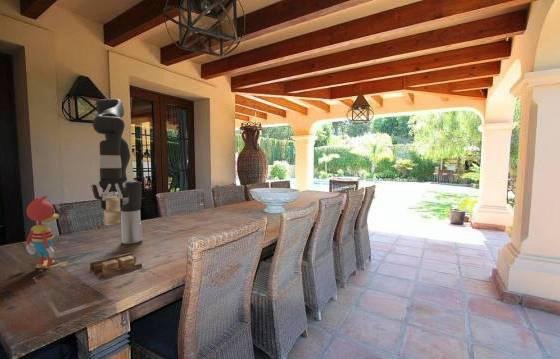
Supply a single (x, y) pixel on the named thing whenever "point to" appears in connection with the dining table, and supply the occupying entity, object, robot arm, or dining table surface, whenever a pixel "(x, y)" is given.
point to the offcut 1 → (109, 265)
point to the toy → (42, 232)
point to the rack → (97, 270)
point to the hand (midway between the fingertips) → (111, 208)
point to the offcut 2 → (126, 261)
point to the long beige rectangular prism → (112, 211)
